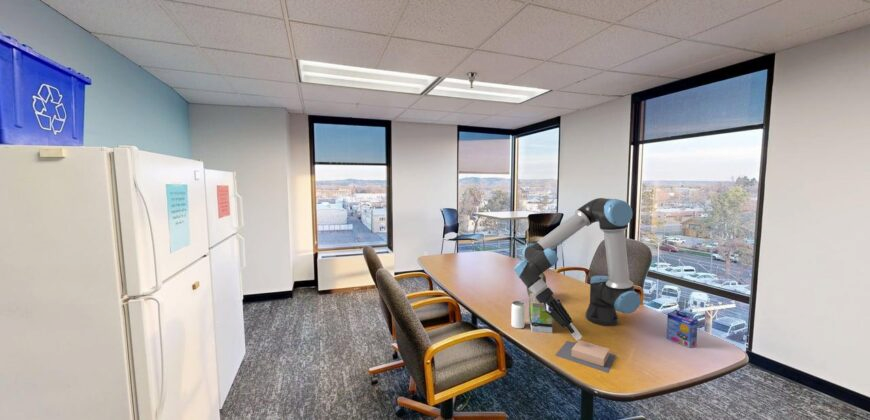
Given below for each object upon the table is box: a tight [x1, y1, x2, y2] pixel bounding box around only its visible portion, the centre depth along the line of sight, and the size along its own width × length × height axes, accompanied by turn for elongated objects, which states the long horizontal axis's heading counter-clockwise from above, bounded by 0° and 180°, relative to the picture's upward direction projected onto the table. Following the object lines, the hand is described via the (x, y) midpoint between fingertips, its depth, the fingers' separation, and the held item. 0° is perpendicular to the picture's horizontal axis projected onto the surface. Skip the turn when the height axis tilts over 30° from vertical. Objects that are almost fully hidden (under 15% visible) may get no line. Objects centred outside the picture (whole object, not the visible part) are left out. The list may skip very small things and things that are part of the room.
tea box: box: [528, 293, 554, 334], centre depth 162 cm, size 15×10×15 cm
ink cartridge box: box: [666, 310, 699, 349], centre depth 146 cm, size 10×6×14 cm, turn 27°
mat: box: [554, 340, 618, 374], centre depth 135 cm, size 20×16×1 cm
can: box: [510, 300, 526, 330], centre depth 163 cm, size 6×6×12 cm
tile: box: [571, 339, 610, 366], centre depth 134 cm, size 3×10×12 cm
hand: (579, 338), depth 136 cm, fingers closed
